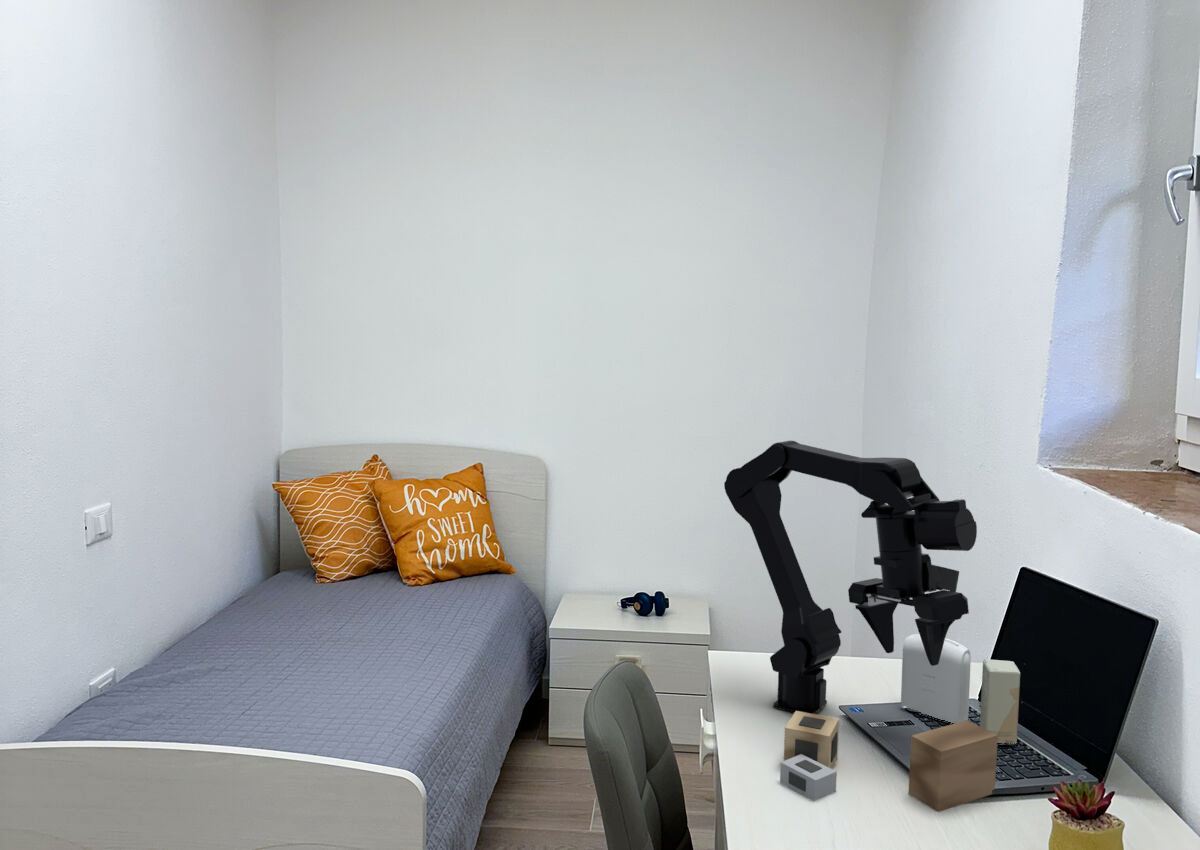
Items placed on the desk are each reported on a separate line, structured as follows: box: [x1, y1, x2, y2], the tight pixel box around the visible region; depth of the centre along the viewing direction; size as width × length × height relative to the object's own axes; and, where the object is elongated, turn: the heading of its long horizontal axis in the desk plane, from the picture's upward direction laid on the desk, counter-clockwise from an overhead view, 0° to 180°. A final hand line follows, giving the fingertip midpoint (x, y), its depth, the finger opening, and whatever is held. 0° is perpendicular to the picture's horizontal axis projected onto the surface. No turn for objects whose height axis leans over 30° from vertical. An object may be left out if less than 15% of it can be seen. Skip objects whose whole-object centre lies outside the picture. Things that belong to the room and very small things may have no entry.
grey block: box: [779, 754, 837, 802], centre depth 128 cm, size 6×4×3 cm
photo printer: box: [900, 633, 972, 724], centre depth 150 cm, size 10×4×12 cm, turn 47°
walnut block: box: [907, 719, 998, 813], centre depth 126 cm, size 5×10×8 cm, turn 118°
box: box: [979, 658, 1021, 744], centre depth 142 cm, size 5×4×11 cm
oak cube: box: [783, 711, 840, 770], centre depth 134 cm, size 6×6×6 cm
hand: (911, 658), depth 138 cm, fingers open, 9 cm apart
